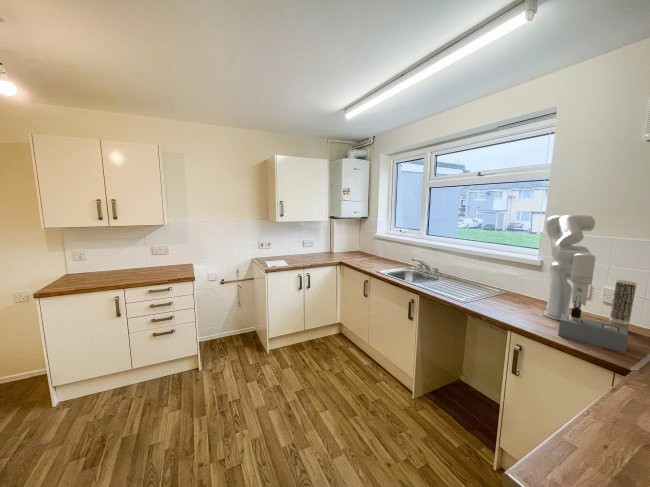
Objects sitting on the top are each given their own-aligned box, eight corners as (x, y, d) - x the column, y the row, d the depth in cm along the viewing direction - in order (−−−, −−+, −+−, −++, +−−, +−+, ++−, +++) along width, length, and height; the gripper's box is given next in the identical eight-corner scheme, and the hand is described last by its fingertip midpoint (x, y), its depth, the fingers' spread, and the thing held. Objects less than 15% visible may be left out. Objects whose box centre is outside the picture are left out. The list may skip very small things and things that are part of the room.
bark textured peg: (631, 332, 136) (640, 284, 132) (615, 331, 137) (624, 283, 133) (620, 326, 142) (628, 280, 139) (604, 325, 143) (612, 279, 140)
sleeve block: (558, 335, 131) (560, 319, 130) (559, 328, 139) (561, 313, 138) (625, 352, 116) (628, 335, 115) (623, 343, 124) (626, 327, 123)
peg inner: (566, 330, 131) (568, 316, 130) (567, 328, 134) (569, 314, 133) (579, 333, 128) (581, 319, 127) (579, 331, 131) (581, 316, 130)
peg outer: (601, 342, 123) (604, 327, 122) (601, 339, 126) (603, 324, 125) (615, 346, 120) (618, 330, 119) (614, 342, 123) (617, 327, 122)
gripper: (592, 284, 120) (586, 323, 122) (592, 278, 131) (586, 315, 133) (569, 280, 125) (564, 318, 127) (571, 275, 136) (566, 310, 138)
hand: (575, 316), depth 130 cm, fingers closed
